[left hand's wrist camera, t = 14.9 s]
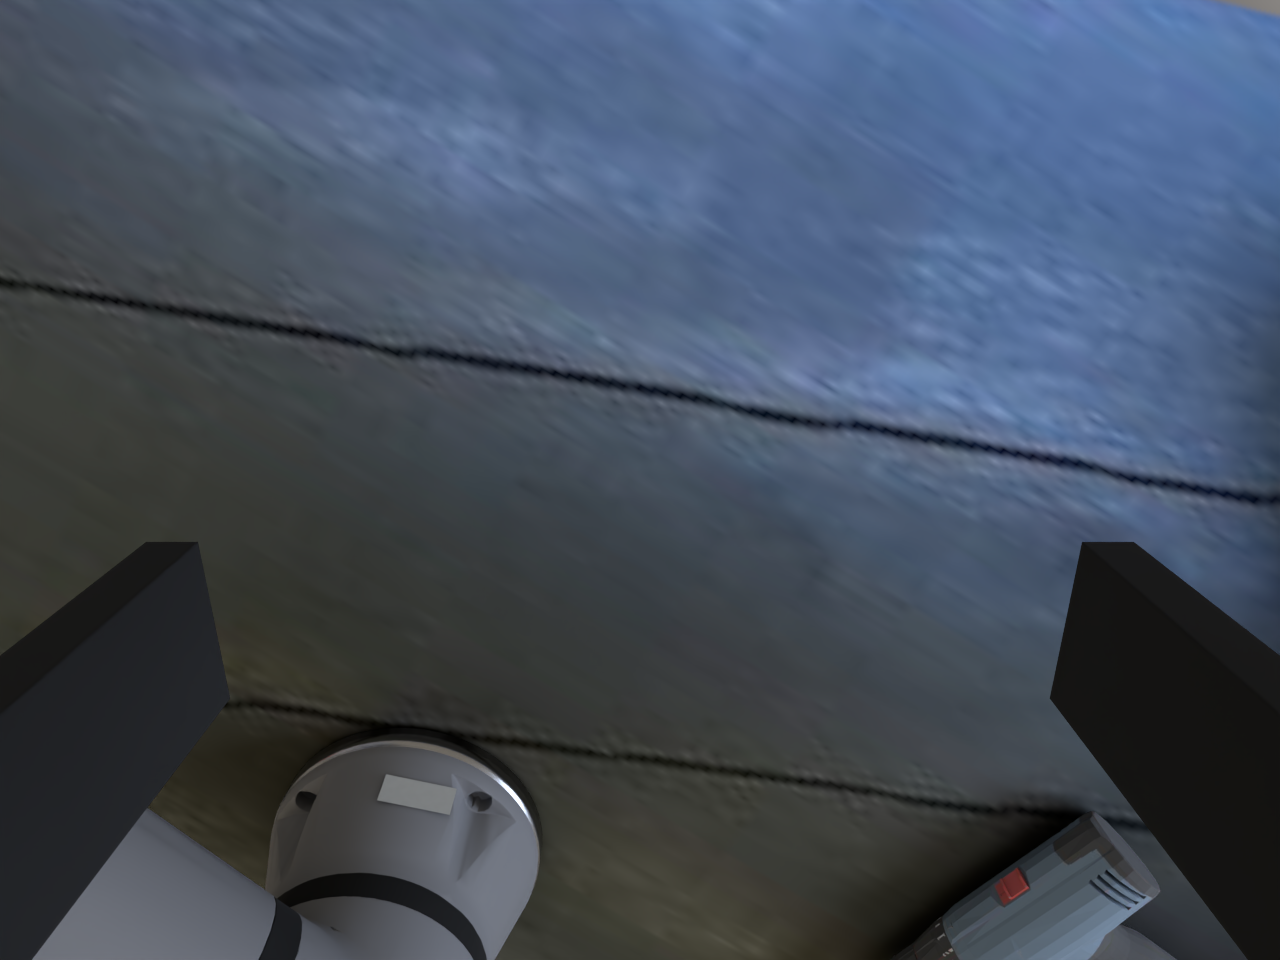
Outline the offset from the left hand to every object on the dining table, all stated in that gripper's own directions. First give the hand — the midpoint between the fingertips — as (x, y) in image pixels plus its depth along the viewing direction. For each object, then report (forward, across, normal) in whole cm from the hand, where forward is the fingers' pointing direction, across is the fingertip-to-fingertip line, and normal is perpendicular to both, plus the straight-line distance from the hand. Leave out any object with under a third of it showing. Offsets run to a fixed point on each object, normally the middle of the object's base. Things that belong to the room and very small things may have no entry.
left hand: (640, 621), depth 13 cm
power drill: (+28, -26, +41) cm, 56 cm away
